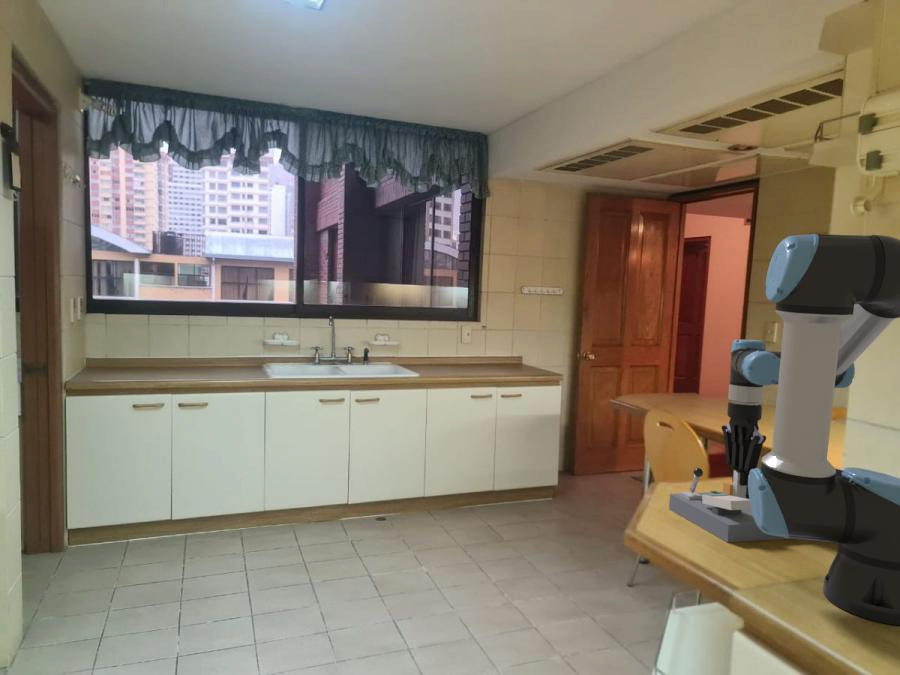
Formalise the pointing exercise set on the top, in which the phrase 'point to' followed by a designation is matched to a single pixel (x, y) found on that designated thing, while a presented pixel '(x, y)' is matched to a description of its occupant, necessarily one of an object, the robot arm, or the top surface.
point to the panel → (718, 518)
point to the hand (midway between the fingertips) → (738, 496)
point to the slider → (728, 488)
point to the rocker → (726, 501)
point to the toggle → (695, 479)
